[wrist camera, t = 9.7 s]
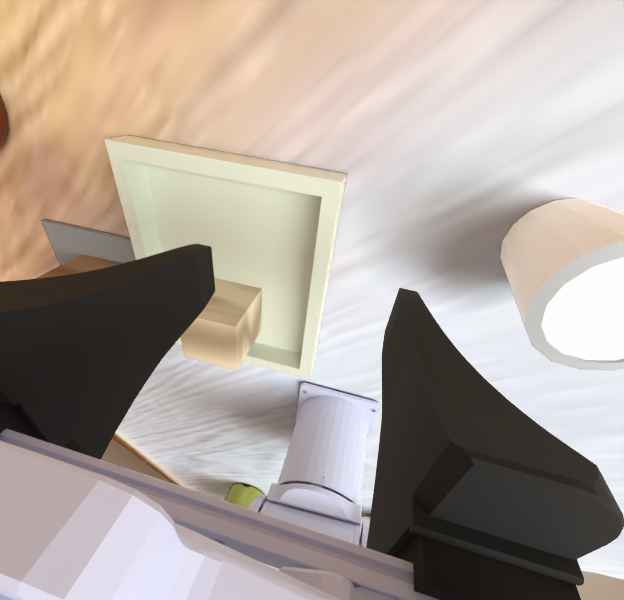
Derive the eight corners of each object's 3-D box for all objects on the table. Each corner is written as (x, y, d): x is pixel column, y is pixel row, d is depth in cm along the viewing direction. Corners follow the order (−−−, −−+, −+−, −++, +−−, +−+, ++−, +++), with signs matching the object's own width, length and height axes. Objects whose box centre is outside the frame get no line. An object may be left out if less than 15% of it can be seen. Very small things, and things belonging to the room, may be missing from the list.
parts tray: (315, 362, 29) (309, 379, 27) (170, 324, 30) (156, 338, 29) (347, 173, 19) (341, 182, 17) (129, 135, 20) (104, 139, 19)
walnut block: (139, 304, 29) (97, 339, 25) (99, 295, 30) (51, 327, 26) (126, 263, 27) (77, 294, 23) (82, 254, 27) (26, 283, 23)
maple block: (261, 329, 27) (237, 370, 23) (215, 318, 28) (184, 356, 24) (261, 288, 25) (235, 327, 21) (210, 276, 25) (175, 311, 21)
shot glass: (554, 309, 20) (613, 393, 15) (464, 264, 20) (490, 331, 14) (663, 221, 16) (802, 290, 11) (552, 163, 16) (635, 202, 10)
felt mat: (169, 337, 32) (167, 340, 31) (86, 315, 33) (83, 317, 33) (147, 241, 25) (144, 243, 25) (45, 218, 26) (40, 220, 26)
